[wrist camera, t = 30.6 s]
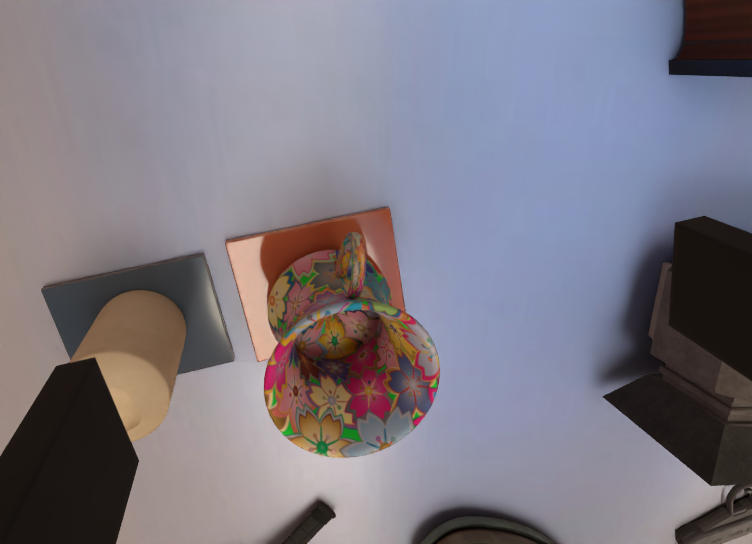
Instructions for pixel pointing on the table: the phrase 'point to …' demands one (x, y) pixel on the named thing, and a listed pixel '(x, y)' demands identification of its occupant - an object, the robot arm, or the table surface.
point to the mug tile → (285, 246)
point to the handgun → (721, 521)
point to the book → (716, 39)
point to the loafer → (484, 532)
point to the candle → (137, 356)
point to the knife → (311, 525)
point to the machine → (691, 402)
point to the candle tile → (169, 278)
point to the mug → (345, 356)
